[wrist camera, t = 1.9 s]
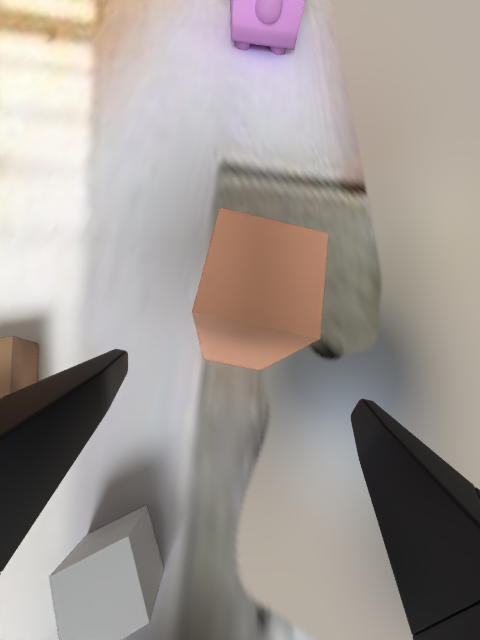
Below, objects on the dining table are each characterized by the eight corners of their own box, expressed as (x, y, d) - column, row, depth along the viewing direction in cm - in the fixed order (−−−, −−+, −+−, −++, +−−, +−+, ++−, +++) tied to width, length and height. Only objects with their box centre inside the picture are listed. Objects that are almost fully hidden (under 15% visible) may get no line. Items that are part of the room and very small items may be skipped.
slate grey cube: (164, 568, 16) (149, 623, 12) (102, 603, 15) (64, 674, 11) (147, 504, 17) (128, 535, 13) (87, 533, 16) (48, 576, 12)
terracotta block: (260, 370, 20) (319, 338, 9) (203, 358, 20) (192, 311, 9) (268, 316, 22) (328, 233, 11) (215, 305, 22) (220, 207, 10)
